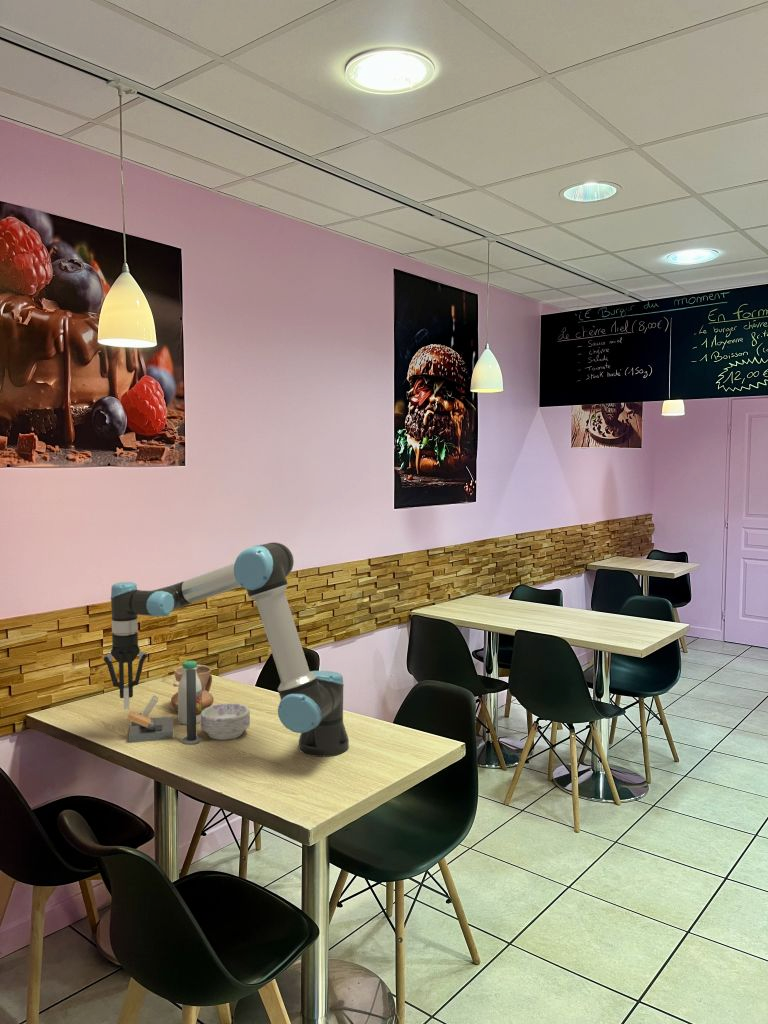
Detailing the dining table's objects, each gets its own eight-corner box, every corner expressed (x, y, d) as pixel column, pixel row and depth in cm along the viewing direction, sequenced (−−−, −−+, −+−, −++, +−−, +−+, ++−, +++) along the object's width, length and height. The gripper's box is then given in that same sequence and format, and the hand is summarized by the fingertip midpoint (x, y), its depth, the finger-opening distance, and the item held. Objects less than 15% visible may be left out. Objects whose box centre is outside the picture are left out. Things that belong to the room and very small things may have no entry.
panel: (173, 738, 236) (173, 730, 236) (129, 742, 232) (129, 734, 232) (173, 723, 249) (173, 716, 249) (131, 727, 246) (131, 719, 246)
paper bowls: (200, 745, 231) (200, 720, 230) (201, 728, 245) (200, 704, 245) (251, 741, 234) (251, 716, 234) (248, 725, 249) (248, 701, 248)
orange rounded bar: (155, 725, 236) (130, 714, 234) (152, 730, 236) (127, 720, 233) (156, 720, 240) (130, 710, 238) (153, 725, 240) (127, 715, 238)
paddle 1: (142, 724, 242) (158, 701, 242) (137, 721, 241) (153, 698, 242) (143, 719, 246) (158, 697, 247) (138, 716, 246) (153, 694, 246)
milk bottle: (177, 726, 247) (176, 665, 246) (178, 718, 255) (178, 659, 253) (201, 724, 249) (201, 664, 247) (202, 716, 256) (202, 658, 255)
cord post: (202, 743, 232) (201, 672, 230) (181, 745, 230) (181, 673, 229) (201, 736, 238) (200, 666, 236) (181, 738, 236) (180, 668, 235)
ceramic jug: (189, 719, 254) (190, 677, 253) (158, 711, 261) (159, 670, 260) (226, 705, 269) (227, 666, 268) (196, 698, 276) (197, 660, 276)
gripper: (147, 628, 239) (149, 702, 241) (103, 631, 236) (105, 705, 237) (146, 634, 232) (148, 709, 233) (101, 636, 228) (103, 713, 230)
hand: (126, 707), depth 235 cm, fingers closed
